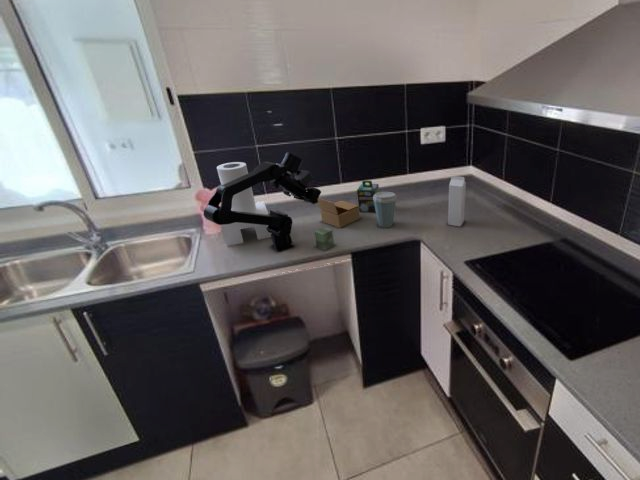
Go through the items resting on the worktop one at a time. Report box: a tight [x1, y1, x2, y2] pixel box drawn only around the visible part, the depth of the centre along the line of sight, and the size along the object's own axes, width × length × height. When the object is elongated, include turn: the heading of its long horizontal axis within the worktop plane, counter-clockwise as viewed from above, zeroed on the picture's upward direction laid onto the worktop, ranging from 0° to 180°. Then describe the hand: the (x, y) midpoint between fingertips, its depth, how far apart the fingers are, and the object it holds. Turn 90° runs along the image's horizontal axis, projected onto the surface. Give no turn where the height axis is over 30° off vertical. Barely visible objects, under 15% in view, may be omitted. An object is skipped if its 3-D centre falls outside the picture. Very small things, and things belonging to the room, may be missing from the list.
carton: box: [320, 200, 361, 229], centre depth 177 cm, size 13×12×7 cm
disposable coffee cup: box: [373, 191, 398, 228], centre depth 170 cm, size 11×11×15 cm
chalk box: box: [356, 180, 380, 213], centre depth 187 cm, size 9×9×15 cm
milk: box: [447, 175, 467, 227], centre depth 169 cm, size 6×6×22 cm
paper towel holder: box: [216, 161, 272, 247], centre depth 160 cm, size 19×19×30 cm
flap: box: [317, 197, 338, 215], centre depth 169 cm, size 6×12×1 cm
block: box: [314, 226, 335, 251], centre depth 154 cm, size 5×5×7 cm
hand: (315, 201), depth 162 cm, fingers open, 3 cm apart
